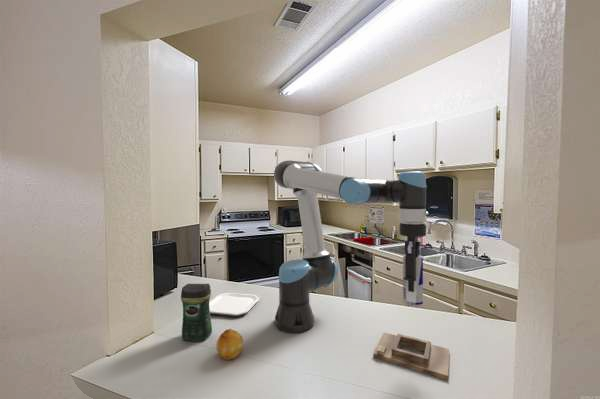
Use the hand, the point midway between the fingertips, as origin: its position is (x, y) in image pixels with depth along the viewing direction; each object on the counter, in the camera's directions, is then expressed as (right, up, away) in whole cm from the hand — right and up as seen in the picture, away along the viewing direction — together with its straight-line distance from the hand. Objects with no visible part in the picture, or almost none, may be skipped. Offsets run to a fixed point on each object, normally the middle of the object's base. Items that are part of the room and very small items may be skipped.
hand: (412, 297), depth 81 cm
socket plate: (0, -18, +1) cm, 18 cm away
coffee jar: (-71, -18, +12) cm, 74 cm away
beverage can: (0, -2, 0) cm, 2 cm away
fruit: (-56, -18, +1) cm, 59 cm away
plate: (-65, -18, +36) cm, 77 cm away
